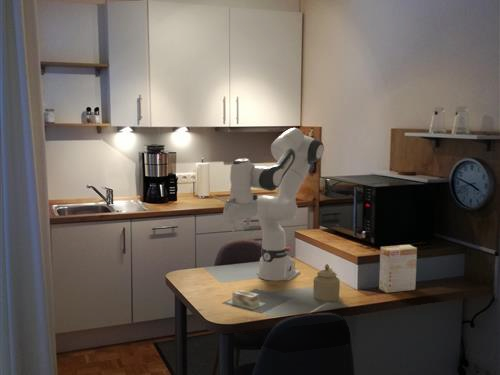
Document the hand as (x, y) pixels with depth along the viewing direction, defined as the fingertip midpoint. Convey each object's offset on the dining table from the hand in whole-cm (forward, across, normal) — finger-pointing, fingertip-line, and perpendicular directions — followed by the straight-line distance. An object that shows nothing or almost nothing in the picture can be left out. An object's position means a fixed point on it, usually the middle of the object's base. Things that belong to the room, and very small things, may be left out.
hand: (240, 229), depth 244 cm
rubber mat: (+29, -2, -11) cm, 31 cm away
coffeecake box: (+29, +50, -51) cm, 77 cm away
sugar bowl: (+29, +21, -30) cm, 47 cm away
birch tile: (+28, -8, -9) cm, 31 cm away
